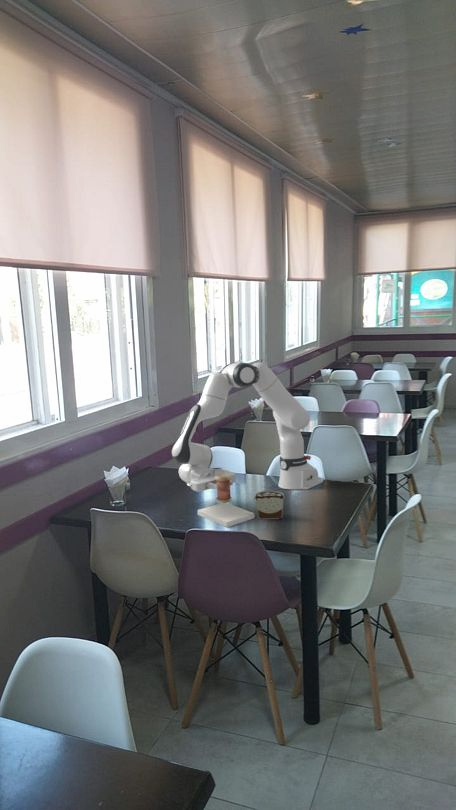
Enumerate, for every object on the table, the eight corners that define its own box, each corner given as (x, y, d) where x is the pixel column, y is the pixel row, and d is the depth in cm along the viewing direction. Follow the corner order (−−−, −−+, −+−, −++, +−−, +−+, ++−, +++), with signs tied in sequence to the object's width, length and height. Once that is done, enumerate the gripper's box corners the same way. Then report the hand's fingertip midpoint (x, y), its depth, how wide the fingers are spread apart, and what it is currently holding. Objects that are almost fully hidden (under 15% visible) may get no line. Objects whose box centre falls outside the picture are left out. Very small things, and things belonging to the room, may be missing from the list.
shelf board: (224, 506, 244) (224, 502, 244) (254, 518, 228) (254, 513, 228) (197, 514, 236) (197, 510, 236) (226, 527, 220) (226, 522, 220)
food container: (286, 513, 232) (285, 489, 230) (286, 518, 226) (285, 494, 224) (255, 513, 233) (254, 490, 232) (255, 519, 227) (253, 495, 226)
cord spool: (225, 496, 235) (224, 473, 234) (234, 500, 230) (233, 476, 229) (213, 500, 232) (212, 476, 230) (222, 503, 227) (221, 479, 225)
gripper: (184, 476, 234) (203, 483, 223) (223, 466, 246) (243, 472, 235) (184, 491, 235) (204, 498, 224) (224, 480, 247) (244, 487, 236)
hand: (224, 485), depth 229 cm, fingers closed on cord spool, 5 cm apart
